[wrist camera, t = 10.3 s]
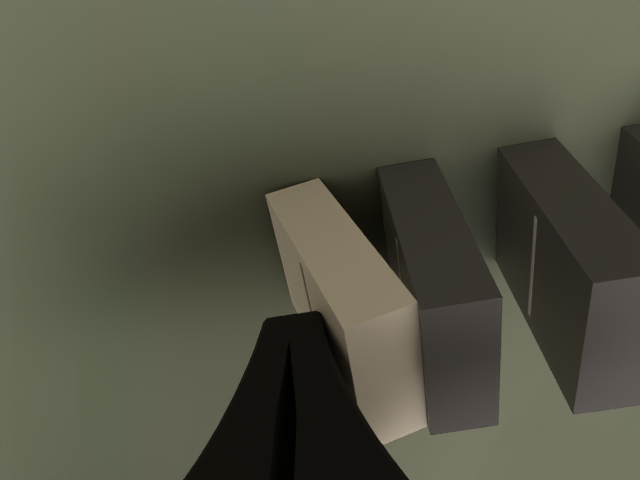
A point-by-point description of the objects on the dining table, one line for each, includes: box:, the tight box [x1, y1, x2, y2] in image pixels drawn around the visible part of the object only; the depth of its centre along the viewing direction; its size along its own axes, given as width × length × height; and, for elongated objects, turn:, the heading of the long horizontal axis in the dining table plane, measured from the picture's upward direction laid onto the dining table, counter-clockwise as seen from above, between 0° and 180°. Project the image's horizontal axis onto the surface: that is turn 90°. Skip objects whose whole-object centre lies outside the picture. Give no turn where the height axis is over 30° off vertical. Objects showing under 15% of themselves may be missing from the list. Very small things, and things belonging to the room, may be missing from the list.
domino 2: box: [378, 158, 502, 435], centre depth 15 cm, size 2×4×6 cm, turn 9°
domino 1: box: [265, 178, 427, 445], centre depth 15 cm, size 2×4×6 cm, turn 9°
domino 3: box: [496, 138, 640, 414], centre depth 15 cm, size 2×4×6 cm, turn 9°
